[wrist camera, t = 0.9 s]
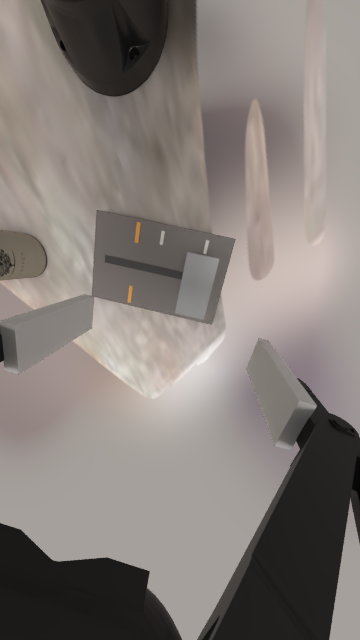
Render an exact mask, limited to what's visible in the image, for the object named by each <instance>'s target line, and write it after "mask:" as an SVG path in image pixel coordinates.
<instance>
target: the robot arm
mask: <svg viewBox="0 0 360 640" xmlns="http://www.w3.org/2000/svg"><path fill="white" fill-rule="evenodd" d="M41 3H42V5H43V8H44V10H45V13H46V16H47V18H48V21H49V23H50V26H51V28H52V31H53V34H54V36H55V39H56V41H57V43H58V46H59V47H60V49H61V51H62V53H63V55H64V56H65V58H66V59H67V61H68V62H69V64H70V65H71V67H72V68H73V70H74V71H75V72H76V74H77V75H78V76H79V78H80V79H81V80H82V81H83V82H84V83H85V84H86V85H87V86H89V87H90V88H92V89H93V90H95V91H97V92H99V93H102V94H105V95H121V94H125V93H128V92H130V91H132V90H134V89H135V88H137V87H138V86H139V85H141V84H142V83H143V82H144V81H145V80H146V79H147V77H148V76H149V75H150V73H151V72H152V71H153V69H154V67H155V65H156V64H157V62H158V59H159V57H160V55H161V52H162V49H163V46H164V42H165V37H166V32H167V23H168V3H167V0H41ZM93 304H94V296H90V295H86V294H84V295H81V296H78V297H75V298H71V299H68V300H65V301H62V302H59V303H55V304H52V305H49V306H46V307H43V308H39V309H36V310H33V311H30V312H27V313H24V314H20V315H17V316H14V317H11V318H8V319H5V320H1V321H0V362H2V361H3V360H4V368H5V371H9V372H12V373H16V374H20V373H22V372H23V371H25V370H26V369H28V368H29V367H31V366H33V365H34V364H36V363H37V362H39V361H41V360H42V359H44V358H45V357H47V356H49V355H50V354H52V353H53V352H55V351H56V350H58V349H60V348H61V347H63V346H64V345H66V344H68V343H69V342H71V341H72V340H74V339H76V338H77V337H79V336H80V335H82V334H83V333H85V332H87V331H88V330H90V329H91V328H92V319H93ZM247 371H248V374H249V377H250V380H251V382H252V385H253V388H254V391H255V393H256V396H257V399H258V401H259V404H260V407H261V410H262V413H263V415H264V418H265V421H266V423H267V426H268V429H269V432H270V434H271V437H272V440H273V443H274V445H275V446H277V447H281V448H284V449H288V450H291V449H292V447H293V445H294V444H295V442H296V441H297V443H298V445H299V448H300V451H299V452H298V454H297V455H296V457H295V459H294V460H293V462H292V464H291V465H290V466H291V467H290V469H289V471H288V472H287V474H286V476H285V478H284V480H283V482H282V484H281V486H280V487H279V489H278V491H277V493H276V495H275V497H274V499H273V501H272V502H271V504H270V506H269V508H268V510H267V512H266V514H265V516H264V518H263V520H262V521H261V523H260V525H259V527H258V529H257V531H256V533H255V535H254V536H253V538H252V540H251V542H250V544H249V546H248V548H247V549H246V551H245V553H244V555H243V557H242V559H241V561H240V563H239V565H238V567H237V568H236V570H235V572H234V574H233V576H232V578H231V580H230V582H229V583H228V585H227V587H226V589H225V591H224V593H223V595H222V596H221V598H220V600H219V602H218V604H217V606H216V608H215V609H214V611H213V613H212V615H211V617H210V618H209V620H208V622H207V624H206V625H205V627H204V629H203V630H202V632H201V634H200V636H199V637H198V639H197V640H329V636H330V630H331V623H332V615H333V610H334V603H335V596H336V589H337V583H338V577H339V570H340V563H341V556H342V550H343V543H344V537H345V530H346V523H347V517H348V510H349V504H350V498H351V502H352V508H353V512H354V517H355V522H356V527H357V532H358V537H359V542H360V438H359V434H358V433H357V431H356V430H355V429H354V428H353V427H352V426H351V425H350V424H349V423H348V422H346V421H345V420H343V419H341V418H340V417H337V416H336V415H333V414H330V413H328V411H327V410H326V409H325V408H324V406H323V405H322V404H321V403H320V401H319V400H318V399H317V398H316V396H315V395H314V394H313V393H312V391H311V390H310V388H309V387H308V386H307V385H306V384H305V383H304V382H303V381H301V380H300V379H298V378H296V377H295V375H294V374H293V373H292V371H291V370H290V369H289V367H288V366H287V365H286V363H285V362H284V361H283V359H282V358H281V357H280V355H279V354H278V353H277V352H276V350H275V349H274V347H273V346H272V345H271V343H270V342H269V341H268V340H264V339H260V338H259V339H258V341H257V344H256V346H255V349H254V351H253V353H252V356H251V359H250V361H249V363H248V366H247ZM148 577H149V571H147V570H144V569H141V568H138V567H134V566H131V565H128V564H125V563H122V562H119V561H116V560H113V559H110V558H96V559H85V560H73V561H61V562H57V561H53V560H52V559H50V558H49V557H48V556H47V555H46V554H45V553H44V552H43V551H42V550H41V549H40V548H39V547H38V546H37V545H36V544H35V543H34V542H33V541H31V539H30V538H29V537H28V536H27V535H25V533H23V532H22V531H21V530H20V529H17V528H14V527H10V526H7V525H4V524H1V523H0V640H182V638H181V636H180V634H179V632H178V630H177V628H176V626H175V624H174V622H173V620H172V618H171V617H170V615H169V613H168V612H167V610H166V609H165V607H164V606H163V604H162V603H161V602H160V601H159V600H158V598H157V597H156V596H155V595H154V594H153V593H152V592H151V591H150V590H149V589H147V583H148Z"/></svg>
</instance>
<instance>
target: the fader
mask: <svg viewBox="0 0 360 640" xmlns="http://www.w3.org/2000/svg"><path fill="white" fill-rule="evenodd" d="M218 263H219V259H218V258H213V257H208V256H204V255H199V254H195V253H190V252H187V256H186V261H185V266H184V271H183V276H182V281H181V285H180V290H179V295H178V300H177V305H176V310H175V313H176V314H180V315H184V316H189V317H193V318H197V319H201V320H204V317H205V313H206V309H207V305H208V301H209V297H210V294H211V290H212V286H213V282H214V278H215V274H216V271H217V267H218Z"/></svg>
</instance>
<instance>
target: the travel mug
mask: <svg viewBox="0 0 360 640" xmlns="http://www.w3.org/2000/svg"><path fill="white" fill-rule="evenodd" d="M45 266H46V256H45V252H44V250H43V248H42V246H41V244H40V243H39V242H38V241H37V240H36V239H35V238H34V237H32V236H30V235H28V234H25V233H18V232H11V231H4V230H0V280H10V279H20V278H30V277H36V276H39V275H40V274H41V273H42V272H43V271H44V269H45Z"/></svg>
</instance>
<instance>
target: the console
mask: <svg viewBox="0 0 360 640" xmlns="http://www.w3.org/2000/svg"><path fill="white" fill-rule="evenodd" d="M234 243H235V239H233V238H228V237H224V236H219V235H214V234H209V233H205V232H200V231H195V230H190V229H185V228H181V227H176V226H171V225H166V224H162V223H157V222H152V221H147V220H142V219H138V218H133V217H128V216H123V215H119V214H114V213H109V212H104V211H99V210H97V214H96V232H95V250H94V268H93V286H92V296H94V297H97V298H101V299H106V300H110V301H114V302H118V303H122V304H127V305H131V306H135V307H139V308H144V309H148V310H152V311H156V312H161V313H165V314H169V315H173V316H177V317H182V318H186V319H190V320H194V321H199V322H203V323H207V324H211V325H212V322H213V318H214V315H215V311H216V308H217V304H218V300H219V297H220V293H221V290H222V286H223V282H224V278H225V275H226V272H227V268H228V264H229V261H230V257H231V253H232V250H233V246H234ZM187 252H190V253H195V254H199V255H204V256H208V257H213V258H218V259H219V263H218V267H217V271H216V274H215V278H214V282H213V286H212V290H211V294H210V297H209V301H208V305H207V309H206V313H205V317H204V320H201V319H197V318H193V317H189V316H184V315H180V314H176V313H175V310H176V305H177V300H178V295H179V290H180V285H181V281H182V276H183V271H184V266H185V261H186V256H187Z"/></svg>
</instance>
